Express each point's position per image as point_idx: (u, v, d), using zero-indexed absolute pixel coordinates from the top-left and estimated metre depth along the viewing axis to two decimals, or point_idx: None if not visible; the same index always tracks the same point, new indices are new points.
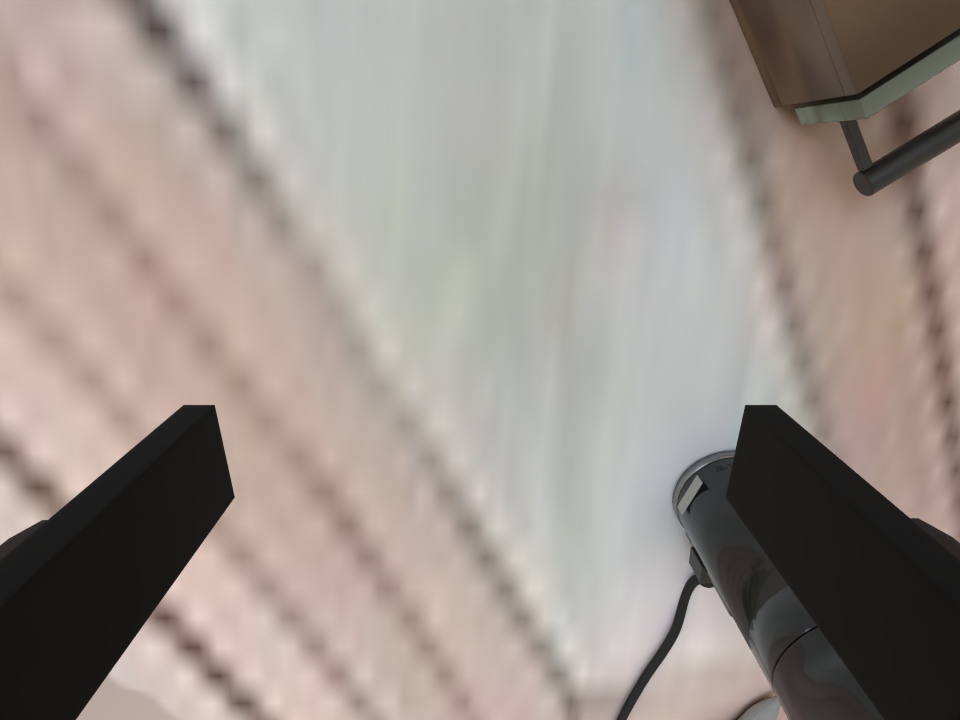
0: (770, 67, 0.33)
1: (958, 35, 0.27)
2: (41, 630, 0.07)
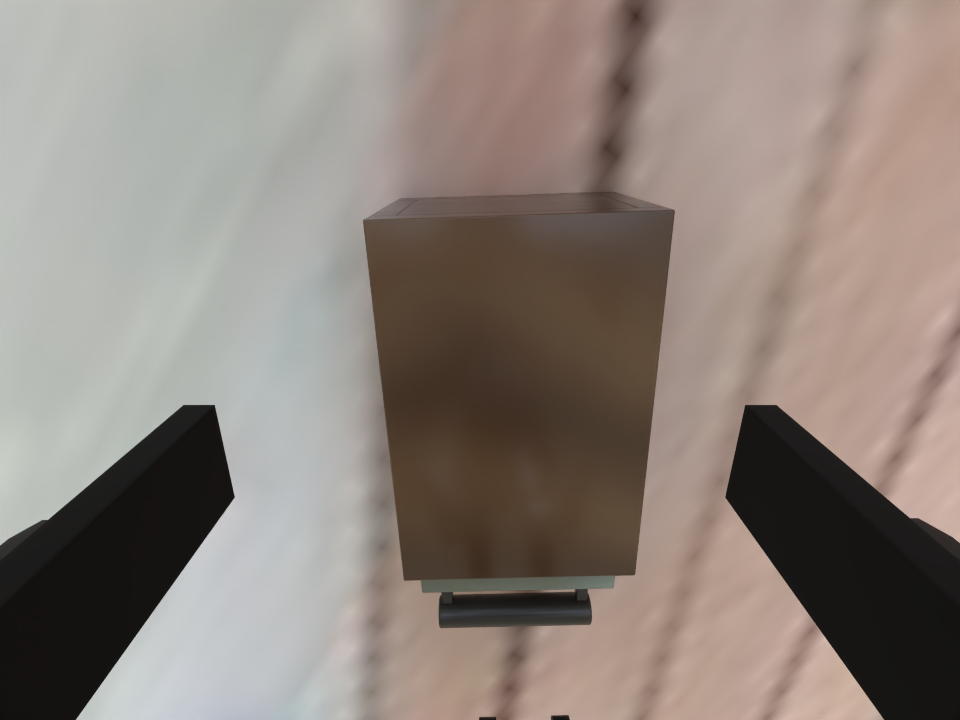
0: None
1: None
2: (41, 630, 0.07)
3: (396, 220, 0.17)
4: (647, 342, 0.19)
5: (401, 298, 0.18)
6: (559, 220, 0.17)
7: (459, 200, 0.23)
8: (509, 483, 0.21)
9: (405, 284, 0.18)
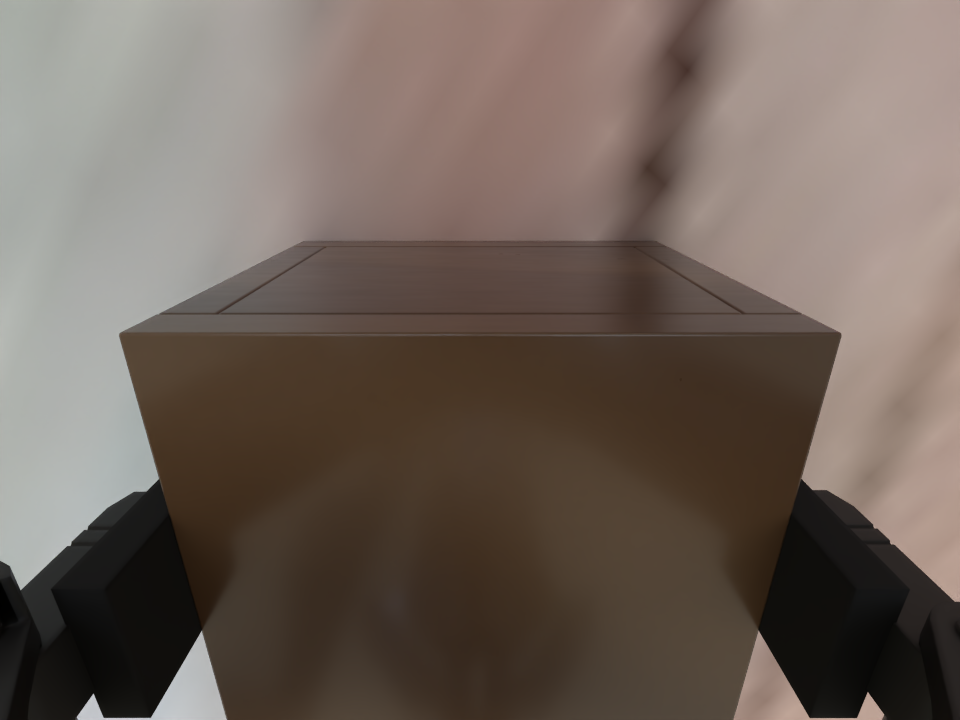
0: None
1: None
2: (156, 584, 0.08)
3: (196, 336, 0.07)
4: (745, 581, 0.09)
5: (226, 491, 0.08)
6: (575, 347, 0.07)
7: (393, 254, 0.13)
8: None
9: (232, 466, 0.08)
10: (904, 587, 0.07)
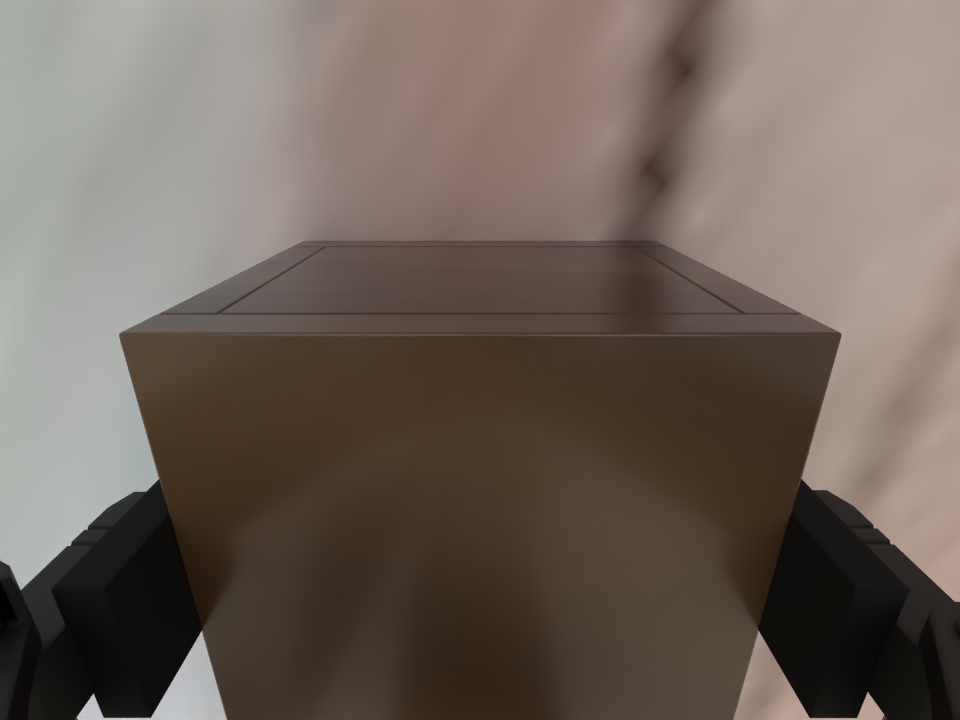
0: None
1: None
2: (156, 584, 0.08)
3: (196, 337, 0.07)
4: (745, 581, 0.09)
5: (226, 492, 0.08)
6: (575, 347, 0.07)
7: (393, 254, 0.13)
8: None
9: (232, 466, 0.08)
10: (904, 587, 0.07)
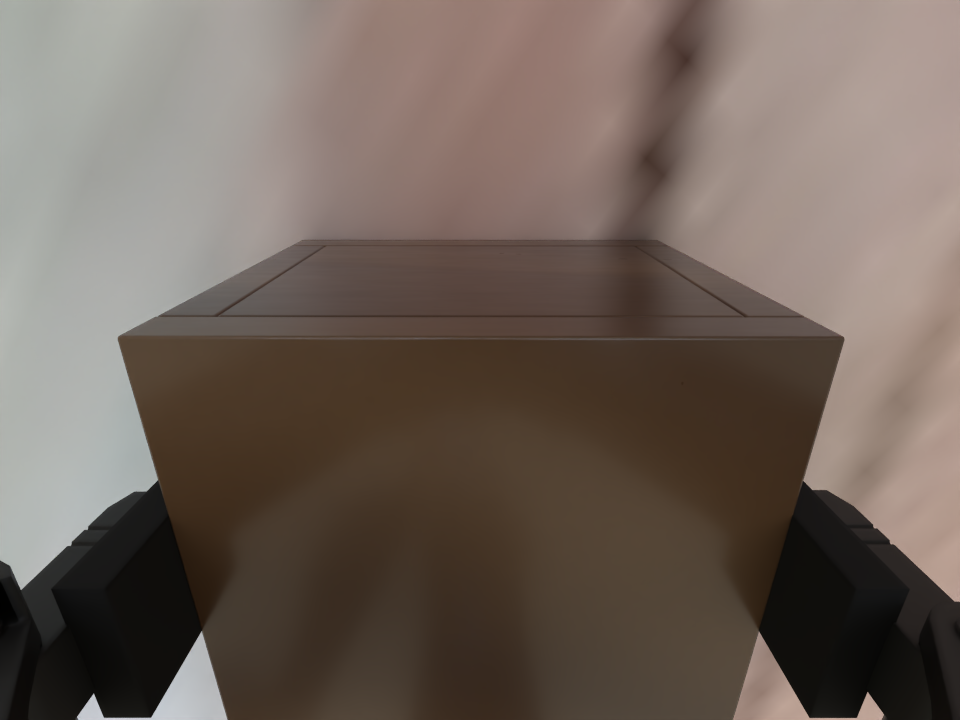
0: None
1: None
2: (156, 584, 0.08)
3: (195, 340, 0.07)
4: (746, 584, 0.09)
5: (226, 494, 0.08)
6: (576, 351, 0.07)
7: (393, 253, 0.13)
8: None
9: (232, 469, 0.08)
10: (904, 587, 0.07)
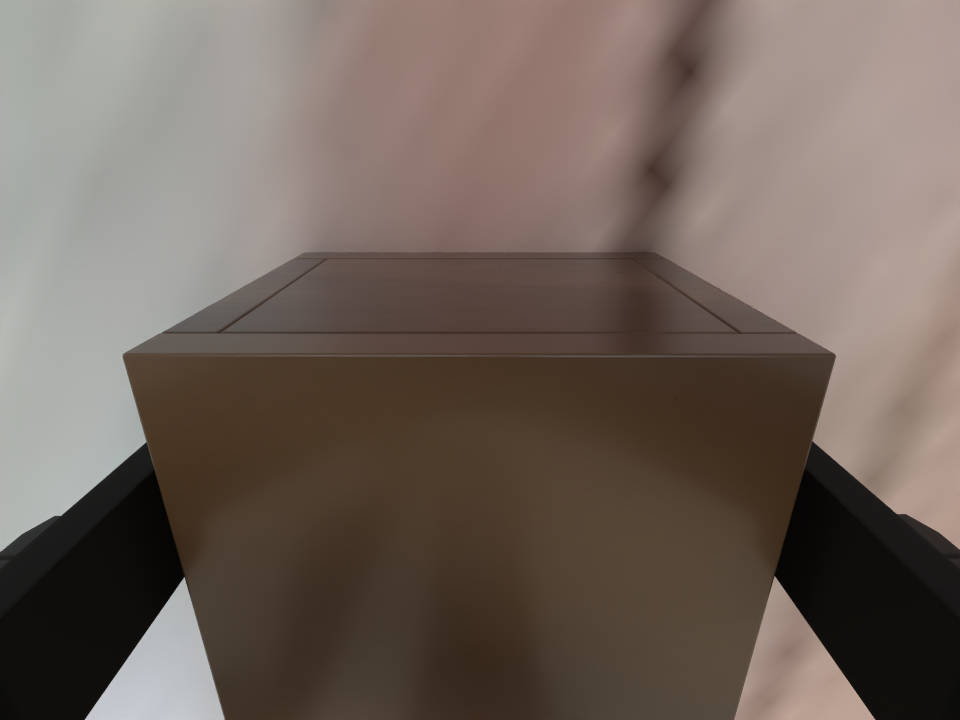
0: None
1: None
2: (57, 623, 0.08)
3: (199, 357, 0.08)
4: (742, 597, 0.09)
5: (228, 508, 0.09)
6: (572, 368, 0.08)
7: (394, 266, 0.13)
8: None
9: (234, 483, 0.08)
10: None
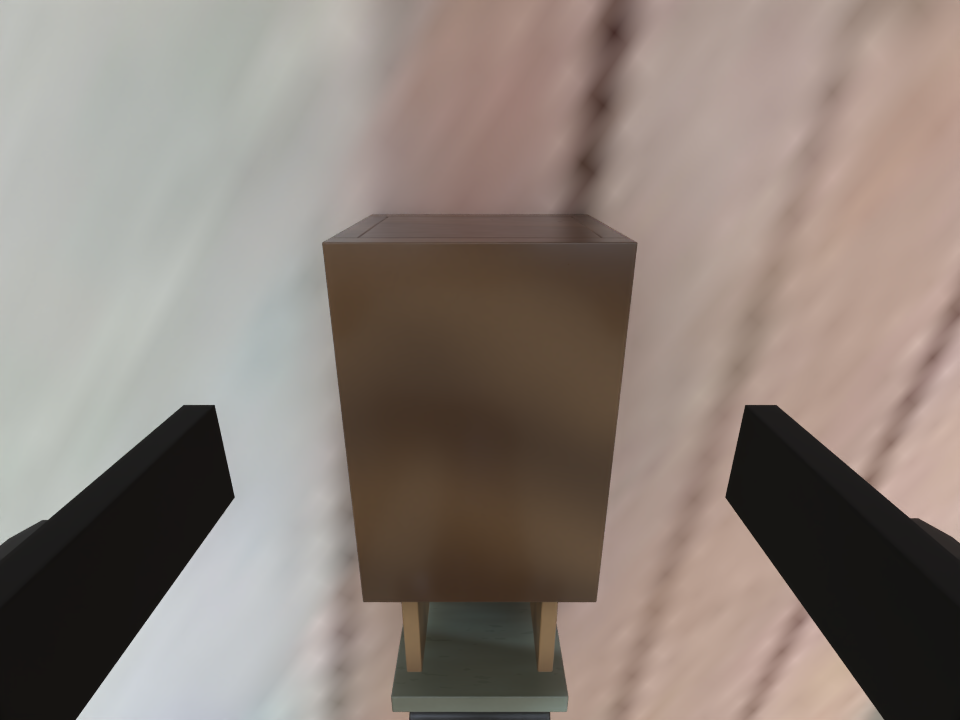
0: None
1: (494, 695, 0.27)
2: (42, 630, 0.07)
3: (356, 244, 0.17)
4: (609, 372, 0.19)
5: (361, 321, 0.18)
6: (521, 249, 0.17)
7: (429, 219, 0.23)
8: (470, 509, 0.21)
9: (365, 307, 0.18)
10: None
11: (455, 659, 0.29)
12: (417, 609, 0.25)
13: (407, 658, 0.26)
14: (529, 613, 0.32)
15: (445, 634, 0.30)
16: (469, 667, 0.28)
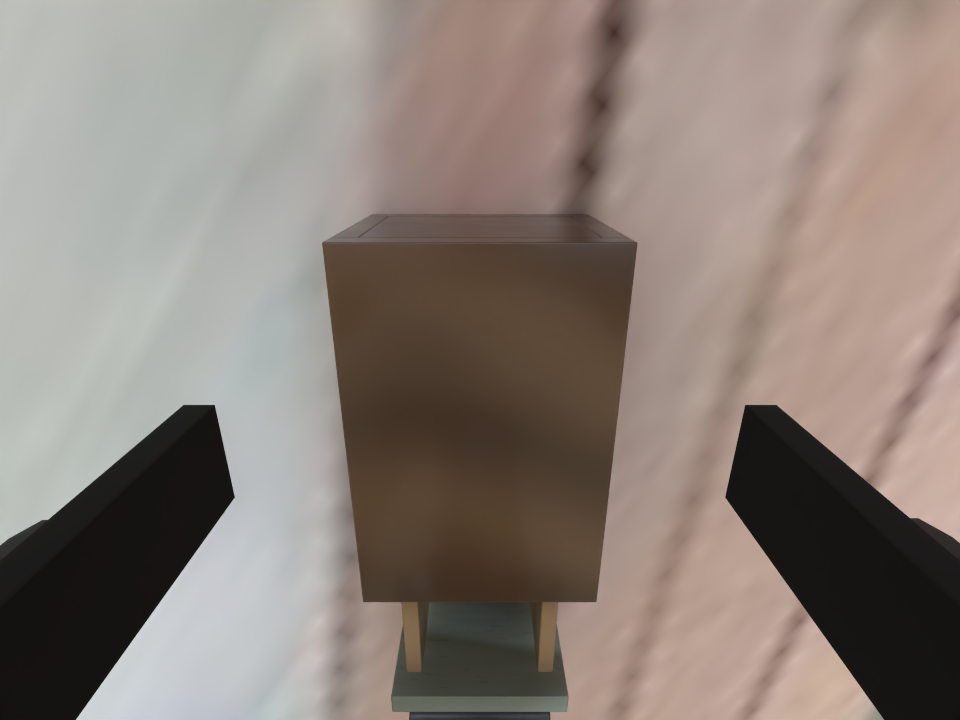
0: None
1: (494, 695, 0.27)
2: (42, 630, 0.07)
3: (356, 244, 0.17)
4: (609, 372, 0.19)
5: (361, 321, 0.18)
6: (521, 249, 0.17)
7: (429, 219, 0.23)
8: (470, 509, 0.21)
9: (365, 307, 0.18)
10: None
11: (455, 659, 0.29)
12: (417, 609, 0.25)
13: (407, 658, 0.26)
14: (529, 613, 0.32)
15: (445, 634, 0.30)
16: (469, 667, 0.28)
